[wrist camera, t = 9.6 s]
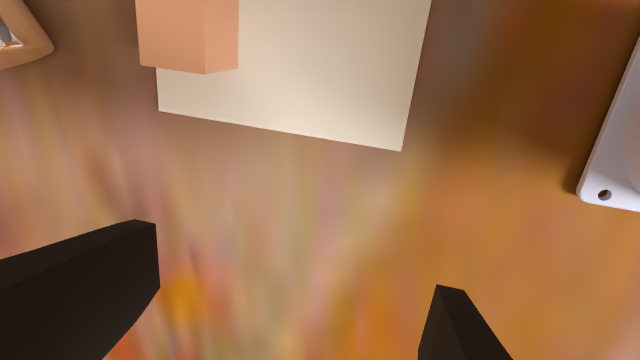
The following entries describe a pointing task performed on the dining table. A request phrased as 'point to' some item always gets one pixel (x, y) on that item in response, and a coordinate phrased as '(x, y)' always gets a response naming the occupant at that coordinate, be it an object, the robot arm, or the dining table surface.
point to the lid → (288, 63)
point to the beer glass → (20, 35)
